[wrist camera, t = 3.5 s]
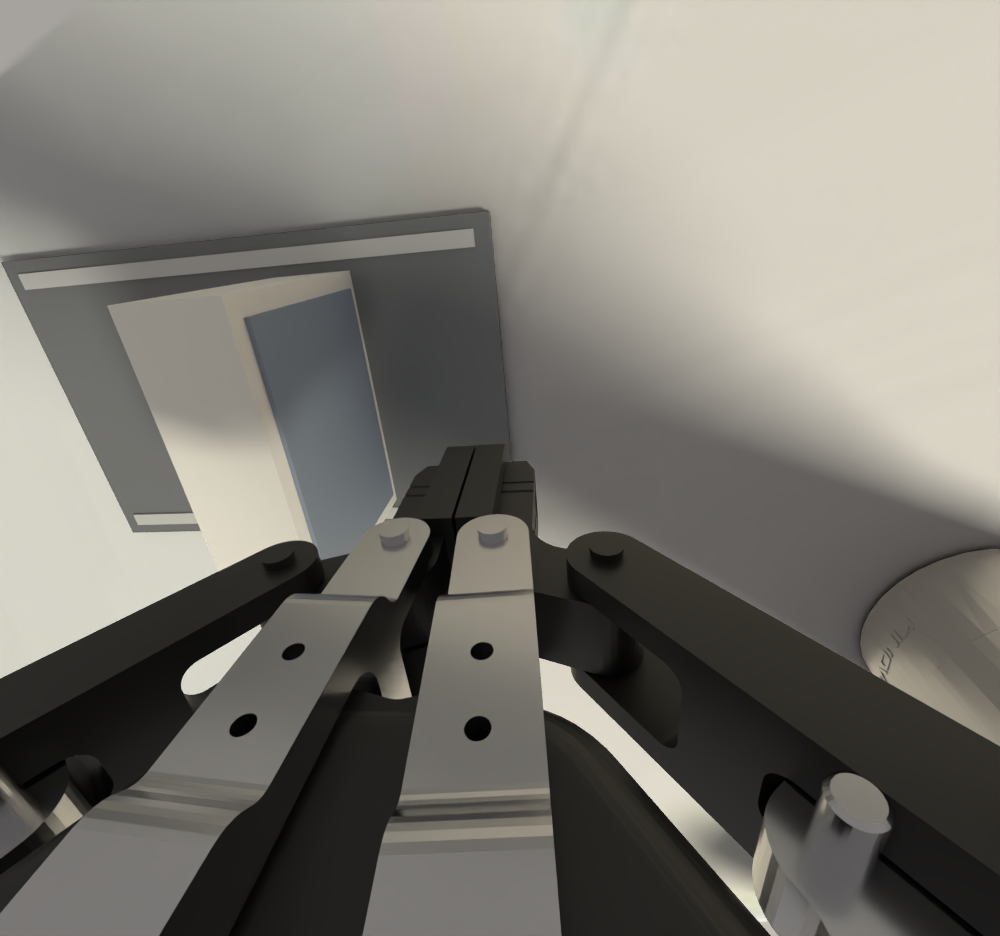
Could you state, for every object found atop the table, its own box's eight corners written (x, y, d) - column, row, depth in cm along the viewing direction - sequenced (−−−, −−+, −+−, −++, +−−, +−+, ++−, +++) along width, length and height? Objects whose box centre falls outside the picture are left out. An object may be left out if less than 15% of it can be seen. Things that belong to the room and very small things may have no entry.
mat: (489, 211, 18) (488, 210, 17) (516, 519, 23) (515, 525, 23) (10, 261, 20) (-2, 262, 20) (139, 528, 26) (131, 533, 25)
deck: (353, 269, 18) (226, 294, 11) (399, 499, 23) (329, 622, 16) (272, 277, 19) (101, 306, 12) (333, 501, 23) (234, 621, 16)
